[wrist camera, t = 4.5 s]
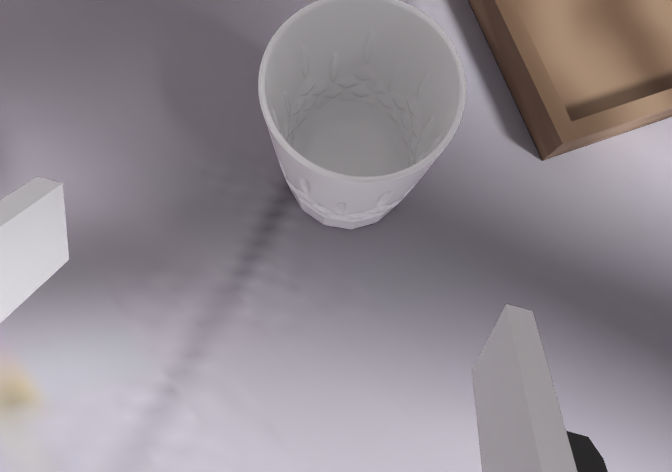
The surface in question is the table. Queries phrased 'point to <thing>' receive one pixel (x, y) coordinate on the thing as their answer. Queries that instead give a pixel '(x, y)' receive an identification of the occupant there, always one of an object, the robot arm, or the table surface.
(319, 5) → the white cup
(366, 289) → the table surface
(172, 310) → the table surface
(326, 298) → the table surface
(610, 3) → the walnut tray
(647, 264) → the table surface
